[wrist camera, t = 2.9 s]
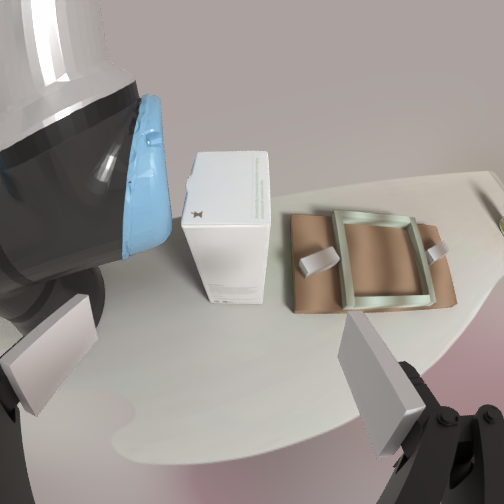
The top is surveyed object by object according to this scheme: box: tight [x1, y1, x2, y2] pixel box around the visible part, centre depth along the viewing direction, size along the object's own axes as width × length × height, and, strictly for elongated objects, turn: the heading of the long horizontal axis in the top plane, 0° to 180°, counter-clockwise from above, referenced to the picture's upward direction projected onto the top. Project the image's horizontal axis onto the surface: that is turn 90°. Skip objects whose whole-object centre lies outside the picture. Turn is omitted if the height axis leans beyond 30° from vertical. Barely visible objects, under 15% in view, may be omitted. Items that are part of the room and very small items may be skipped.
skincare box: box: [181, 151, 271, 304], centre depth 27 cm, size 8×7×16 cm
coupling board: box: [290, 210, 457, 314], centre depth 33 cm, size 24×13×3 cm, turn 88°
